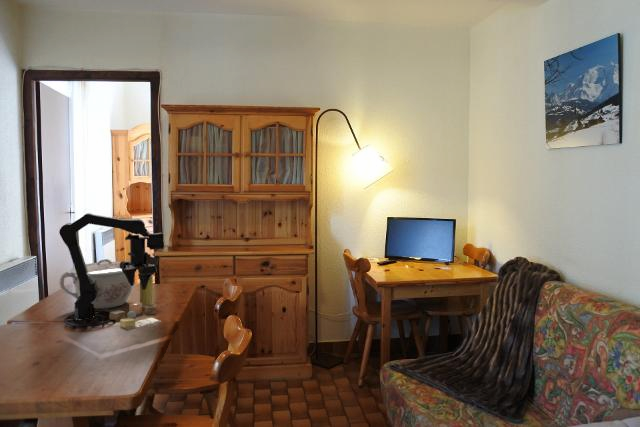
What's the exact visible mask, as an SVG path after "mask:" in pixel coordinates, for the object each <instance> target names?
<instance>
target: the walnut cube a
mask: <svg viewBox="0 0 640 427" xmlns="http://www.w3.org/2000/svg"><path fill="white" fill-rule="evenodd" d="M121 319H126V312H125V311H124V310H118V309H117V310H113V311H109V320H111V321H116V322H118V321H120V320H121Z"/></svg>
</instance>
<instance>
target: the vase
mask: <svg viewBox="0 0 640 427" xmlns="http://www.w3.org/2000/svg"><path fill="white" fill-rule="evenodd" d="M153 276H154V275H151V276H150V278H149V281H148V284H147V287H146V289H145V290H143V289H142V286H141V282H140V281H139V303H142V308H144V306H147V305H154V306H155V300H154V286H153V283H154V282H153V280H154V278H153Z"/></svg>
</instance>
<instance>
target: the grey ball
mask: <svg viewBox="0 0 640 427" xmlns="http://www.w3.org/2000/svg"><path fill="white" fill-rule="evenodd" d="M126 318H132V319H135V318H137V315H136V313H135V312H134V311H130V312H129V311H128V312H127V314H126Z"/></svg>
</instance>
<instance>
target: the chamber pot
mask: <svg viewBox="0 0 640 427" xmlns="http://www.w3.org/2000/svg"><path fill="white" fill-rule="evenodd" d="M121 262H122V261H112V260H110V259H108V258H104V259H100V260H98V261H97V262H92V263H85V264H86V267H87V270H88V273H89V276H90V278H91V280H92V281H94V280H96V282H97V286H98V288H99V290H98V294H97V296H96V299H95V300H94V301H93V302H91V303H92V304H94V307H95V310H107V309H113V308H118V307H120V306H122V305H124V304H125V303H126V302H127V301H128V300H129V299H130V296H131V295H132V293H133V292H134V286H135V284H134V285H133V286H131V285H130V284H129V282H128V280H127V278H126V276H125V274H124V273H123V271H122V270H121V268H120V263H121ZM66 278H72V283H73V287H74V291H71V290H69V289H68V288H66V285H65V279H66ZM59 286H60V289H62V291H64V292H65V293H66V294H68V295H70V296H71V297H73V298H75V299H76V300H77V298H78V297H79V296H80V288H79V279H78V276H77V273H76V270H75V267H73V268H71V269H70V271H66V272H63V274H62V275H61V276H60V278H59Z"/></svg>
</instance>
